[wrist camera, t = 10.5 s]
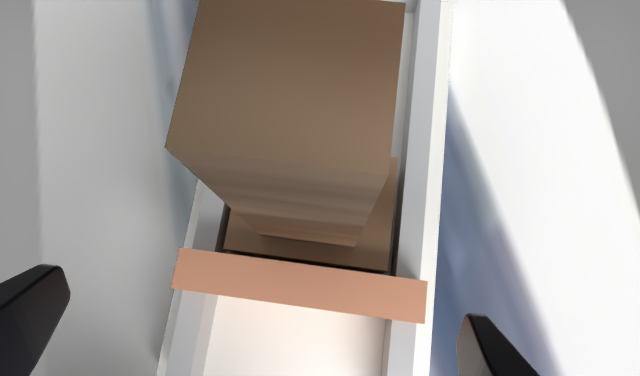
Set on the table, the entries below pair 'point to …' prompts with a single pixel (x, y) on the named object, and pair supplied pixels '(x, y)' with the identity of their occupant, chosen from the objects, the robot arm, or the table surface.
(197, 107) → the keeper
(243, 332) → the tray
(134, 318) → the table surface
